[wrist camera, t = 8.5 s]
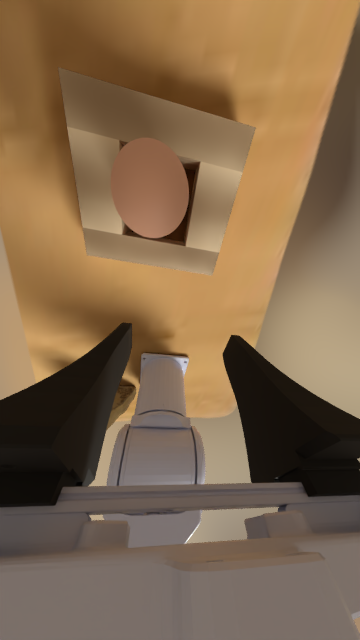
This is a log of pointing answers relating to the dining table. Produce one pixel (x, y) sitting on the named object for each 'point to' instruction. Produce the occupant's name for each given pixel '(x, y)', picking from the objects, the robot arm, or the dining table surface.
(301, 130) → the dining table surface
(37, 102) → the dining table surface
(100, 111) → the socket block
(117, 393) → the rock
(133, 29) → the dining table surface
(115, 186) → the peg
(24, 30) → the dining table surface
